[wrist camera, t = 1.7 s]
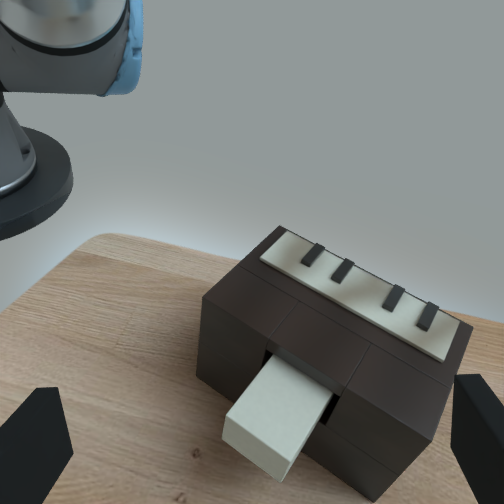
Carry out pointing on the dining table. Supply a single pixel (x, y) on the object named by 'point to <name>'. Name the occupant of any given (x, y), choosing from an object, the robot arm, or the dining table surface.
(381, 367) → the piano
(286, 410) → the white block
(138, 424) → the dining table surface
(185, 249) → the dining table surface
